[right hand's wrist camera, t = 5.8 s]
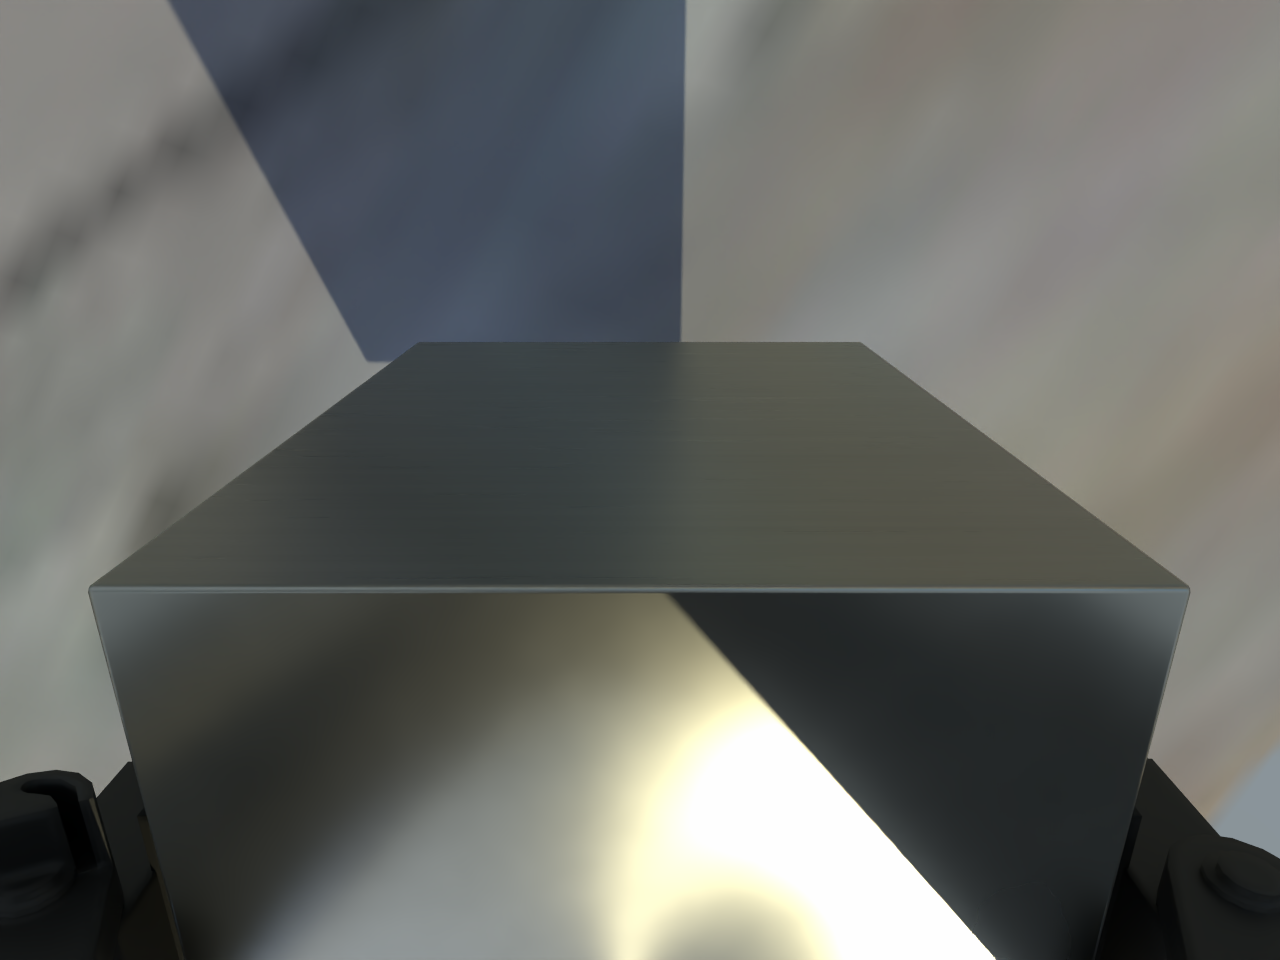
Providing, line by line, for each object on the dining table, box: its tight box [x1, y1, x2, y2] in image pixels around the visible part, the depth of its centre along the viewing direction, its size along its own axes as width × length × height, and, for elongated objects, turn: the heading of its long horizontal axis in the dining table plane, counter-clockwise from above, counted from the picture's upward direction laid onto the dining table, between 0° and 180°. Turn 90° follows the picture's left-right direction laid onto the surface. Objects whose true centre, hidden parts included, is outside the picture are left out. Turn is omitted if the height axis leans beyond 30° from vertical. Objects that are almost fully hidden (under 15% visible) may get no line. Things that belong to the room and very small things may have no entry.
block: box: [88, 342, 1190, 960], centre depth 12 cm, size 8×8×9 cm
